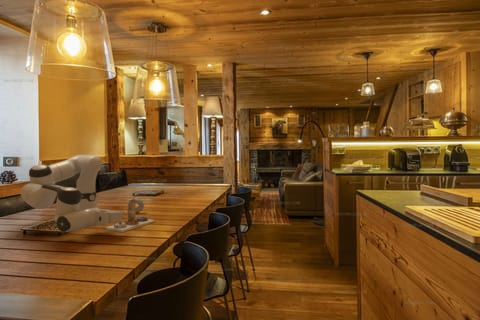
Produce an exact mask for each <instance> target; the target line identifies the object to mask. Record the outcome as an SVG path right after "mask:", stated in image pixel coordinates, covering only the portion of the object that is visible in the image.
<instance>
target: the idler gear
mask: <svg viewBox="0 0 480 320" xmlns="http://www.w3.org/2000/svg"><path fill="white" fill-rule="evenodd" d="M135 208H136V203H135V198H128V199H127V219H126V220H124V222H125V224H126V225H132V224H137V223H138V220H137V219H136V213H135Z"/></svg>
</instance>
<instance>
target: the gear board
mask: <svg viewBox="0 0 480 320" xmlns="http://www.w3.org/2000/svg"><path fill="white" fill-rule="evenodd" d="M135 219H137V220H138V223H137V224H132V225H126V224H125V221H123V222H122V221H118V222H115V224H113V225H108V226H106V227H105V230H107V231H112V232H119V233H125V232H128V231H131V230H134V229H137V228H141V227H144V226H147V225H150V224H154V223H156V221H155V219H148V217H147V216H144V215H141V216H140V217H137V218H136V217H135Z"/></svg>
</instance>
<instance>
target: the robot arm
mask: <svg viewBox="0 0 480 320" xmlns="http://www.w3.org/2000/svg"><path fill="white" fill-rule="evenodd" d="M101 168H103V161H102V158H100V157H99V156H97V155H94V154H77V155H74V156H72V157H69V158H67V159H66V160H65V159H64V160H62V161H59V162H56V163H52V164H50V165H47V164H36V165H33V166H31V167H30V168H29V171H28V177H29V183H26V184H25V185H23V186H22V187H21V189H20V197H21V198H22V199H23V201H24V202H25V203H27V204H28V205H29V206H31V207H32V208H33V209H37V210H43V209H47V208H49V207H51V206H52V205H53V204H54V203H55V201H56V203H55V210H54V216H53V217H54V218H53V219H54V220H53V221H54V222H55V224H56V226H57V227H56V228H57V229H58V230H59V231H60V232H62V233H70V232H71V233H72V232H76V231H81V230H83V229H85V228H87V229H88V228H89V229H90V228H91V227H98V226H109V224H112V223H117V222H120V221H122V220H123V218H124V215H125V211H124V210H121V211H117V210H112V209H110V208H108V209H102V208H99V206H98V199H97V191H96V180H97V176H98V174H99V173H98V172H99V171H100V170H101ZM79 173H80V174H79ZM76 174H79V177H78V179H76V187H71V186H70V187H69V186H64V185H59V184H56V183H59V182H61V181H64V180H68V179H69V178H73V177H74V176H75V175H76Z"/></svg>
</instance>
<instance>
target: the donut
mask: <svg viewBox="0 0 480 320" xmlns="http://www.w3.org/2000/svg"><path fill="white" fill-rule="evenodd" d="M134 199H135V204H137V205H138V207H135V214H138V213H141V212H142V211H143V209H144V205H145V204H144V202H143V200H141V198H138V197H137V198H135V197H134Z"/></svg>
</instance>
